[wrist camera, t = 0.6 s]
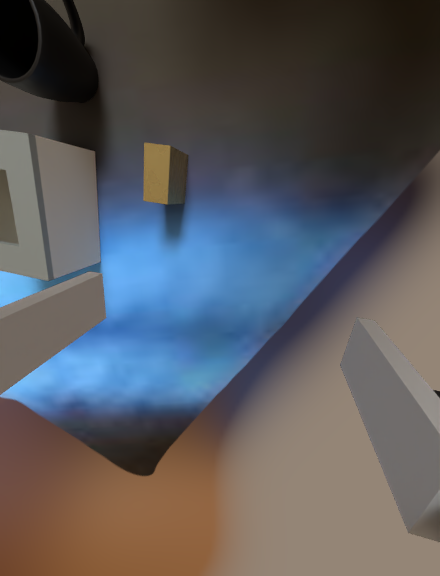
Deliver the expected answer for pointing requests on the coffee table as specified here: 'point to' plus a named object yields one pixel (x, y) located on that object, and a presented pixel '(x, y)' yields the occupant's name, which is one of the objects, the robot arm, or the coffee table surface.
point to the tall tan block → (164, 174)
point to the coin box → (47, 207)
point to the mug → (45, 51)
